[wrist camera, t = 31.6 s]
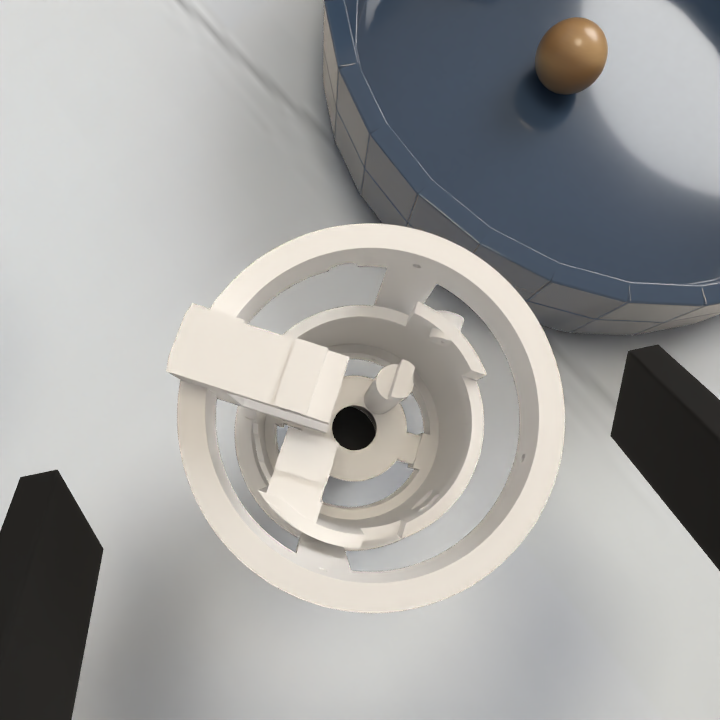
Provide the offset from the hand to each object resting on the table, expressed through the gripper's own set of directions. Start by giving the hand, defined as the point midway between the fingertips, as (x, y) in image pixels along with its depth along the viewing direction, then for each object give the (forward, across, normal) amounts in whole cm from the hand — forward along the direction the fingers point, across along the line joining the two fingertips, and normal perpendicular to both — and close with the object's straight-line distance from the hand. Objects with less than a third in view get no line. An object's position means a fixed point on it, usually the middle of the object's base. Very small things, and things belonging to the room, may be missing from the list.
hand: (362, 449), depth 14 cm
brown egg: (+16, +13, +4) cm, 21 cm away
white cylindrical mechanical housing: (+8, 0, -7) cm, 11 cm away
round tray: (+18, +15, +3) cm, 23 cm away
